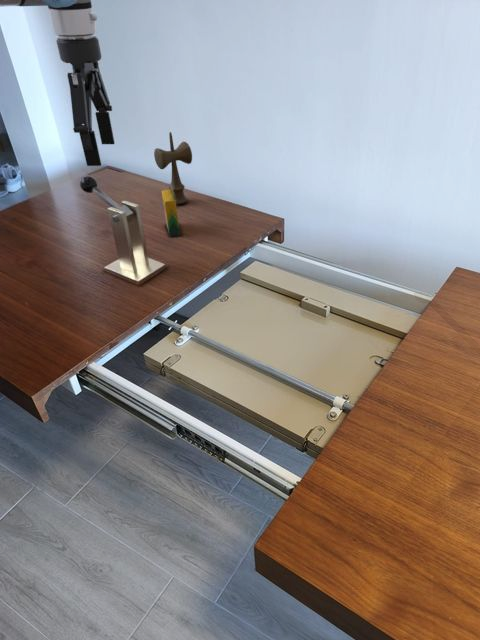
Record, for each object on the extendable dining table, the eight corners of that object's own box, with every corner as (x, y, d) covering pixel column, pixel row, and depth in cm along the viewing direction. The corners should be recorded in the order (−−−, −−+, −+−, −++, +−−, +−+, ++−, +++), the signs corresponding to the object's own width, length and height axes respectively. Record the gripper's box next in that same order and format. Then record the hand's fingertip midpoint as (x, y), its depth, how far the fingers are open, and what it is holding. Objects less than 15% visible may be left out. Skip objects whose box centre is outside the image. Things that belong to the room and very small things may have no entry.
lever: (75, 188, 105) (76, 175, 102) (88, 183, 107) (89, 170, 104) (122, 227, 103) (124, 215, 100) (134, 221, 105) (136, 209, 102)
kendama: (197, 201, 142) (191, 131, 128) (168, 210, 137) (159, 137, 124) (187, 195, 145) (180, 126, 132) (159, 203, 141) (149, 132, 128)
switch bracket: (105, 271, 111) (89, 207, 101) (132, 255, 117) (120, 193, 107) (139, 285, 107) (126, 220, 97) (166, 268, 113) (156, 205, 102)
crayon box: (166, 224, 130) (160, 183, 122) (176, 223, 131) (171, 182, 123) (169, 237, 125) (163, 194, 117) (180, 235, 125) (175, 193, 118)
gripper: (79, 47, 78) (106, 175, 92) (110, 27, 97) (129, 135, 111) (33, 47, 78) (68, 175, 92) (74, 27, 97) (97, 136, 111)
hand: (101, 154), depth 101 cm, fingers open, 13 cm apart
